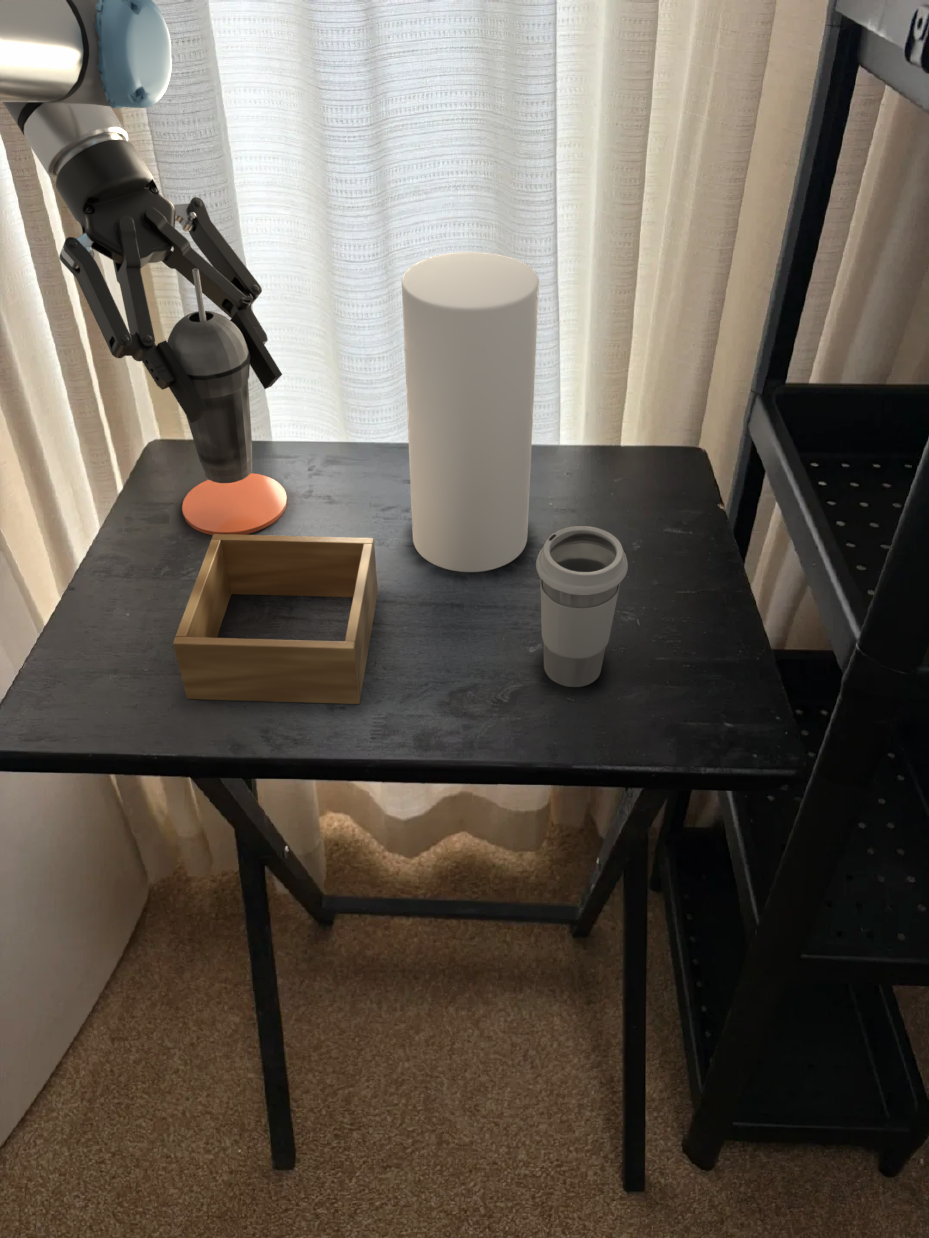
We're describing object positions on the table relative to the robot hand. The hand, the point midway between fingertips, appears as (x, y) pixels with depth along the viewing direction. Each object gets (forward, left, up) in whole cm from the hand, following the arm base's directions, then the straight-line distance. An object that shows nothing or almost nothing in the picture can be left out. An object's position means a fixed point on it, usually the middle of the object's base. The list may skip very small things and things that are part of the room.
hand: (237, 398), depth 91 cm
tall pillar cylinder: (+12, -17, -13) cm, 24 cm away
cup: (+5, -35, -13) cm, 37 cm away
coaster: (0, +3, -13) cm, 14 cm away
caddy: (-9, -16, -13) cm, 22 cm away
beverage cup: (0, +3, -9) cm, 10 cm away
